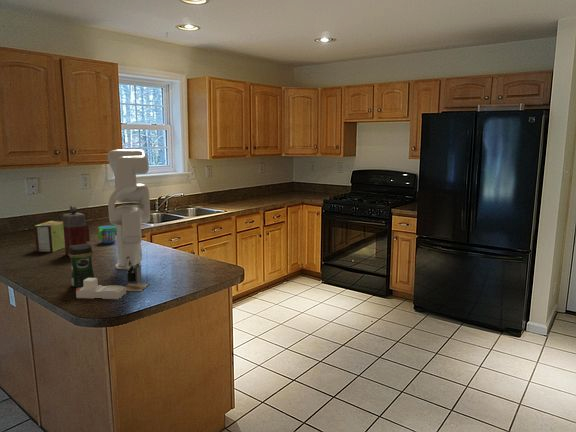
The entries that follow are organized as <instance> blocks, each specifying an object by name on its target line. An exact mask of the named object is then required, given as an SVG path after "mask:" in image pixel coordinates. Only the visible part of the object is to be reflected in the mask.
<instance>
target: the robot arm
mask: <svg viewBox="0 0 576 432" xmlns="http://www.w3.org/2000/svg"><path fill="white" fill-rule="evenodd" d="M107 160H108V164H109V166H110V169H111V170H112V173H113V176H114V186H115V187H114V188H115V190H114V191H113V192H112V193H111V195H110V197H109V199H108V202H107V203H108V204H107V206H108V220H109V222H110V224H111V225H112V226H116V231H117V235H116V241H117V242H116V247H117V259H118V260H117V263H116V264H115V265H114V266H115V269H117V270H125V271H126V274H127V273H128V282H135V281H136V276H135V273H134V269H135V265H141V266H142V260H143V252H142V250H143V249H142V244H141V243H142V224H147V223H149V222H150V220H151V202H150V190H149V188H148V186H147V184H144V183H138V182H137V175H145V174H147V173H148V172H149V167H150V166H149V165H150V164H149V160H148V157H147V154H146V151H144V150H143V149H113V150H109V152H108V153H107ZM116 202H118V203H122V204H129V205H120V206H116ZM130 203H131V205H130ZM132 203H135V204H136V203H139V204H140V205H139V204H136V205H135V204H134V205H132ZM131 265H132V266H131ZM130 267H132V268H130Z"/></svg>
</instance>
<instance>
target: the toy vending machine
mask: <svg viewBox="0 0 576 432" xmlns="http://www.w3.org/2000/svg"><path fill="white" fill-rule="evenodd" d="M69 211H70V213H63V214H62V221H63V228H64V240H65V248H64V250H65V255H66V257H67V256H68V257H69V247H70V246H72V245H79V244H88V242H90V241H91V240H90V228H89V225H88V223H86V216H85V214H84V213H81V212H78V210H77V206H76V205H70V206H69Z"/></svg>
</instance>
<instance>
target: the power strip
mask: <svg viewBox="0 0 576 432" xmlns="http://www.w3.org/2000/svg"><path fill="white" fill-rule="evenodd" d="M124 294H125V295H127V292H126V287H125V286H123V285H101V284H98V277H95V278H87V279H85V280H83V287H76V288H75V295H76V299H94V298H102V299H101V300H120V299H121V298H123V297H124V296H125V295H124ZM123 295H124V296H123ZM122 296H123V297H122ZM119 298H120V299H119Z"/></svg>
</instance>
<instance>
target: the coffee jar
mask: <svg viewBox="0 0 576 432" xmlns="http://www.w3.org/2000/svg"><path fill="white" fill-rule="evenodd" d="M93 254H94V253H93V248H92V245H91V244H90V243H87V244H79V245H72V246H70V247H69V256H68V257H69V259H70V262H71V265H70V266H71V272H70V274H71V276H70V278H71V279H70V280H71V282H70V283H71V286H72V287H74V288H82V287H83V280H85V279H87V278H96V277H95V273H94V267H93V263H92V262H93V261H92V256H93Z"/></svg>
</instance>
